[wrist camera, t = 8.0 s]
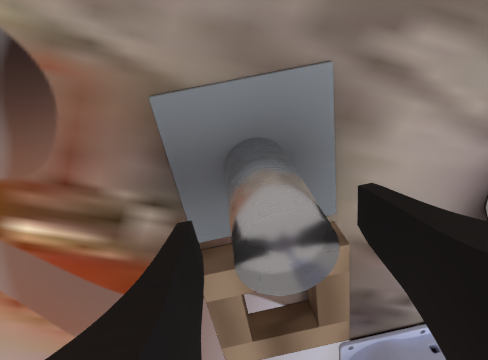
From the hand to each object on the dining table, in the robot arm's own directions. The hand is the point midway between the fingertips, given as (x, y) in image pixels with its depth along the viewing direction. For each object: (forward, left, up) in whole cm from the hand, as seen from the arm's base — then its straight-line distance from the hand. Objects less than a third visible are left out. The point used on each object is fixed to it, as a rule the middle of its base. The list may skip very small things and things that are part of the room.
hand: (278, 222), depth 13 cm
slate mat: (0, 0, -7) cm, 7 cm away
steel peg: (0, 0, -6) cm, 6 cm away
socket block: (0, +11, -7) cm, 13 cm away
